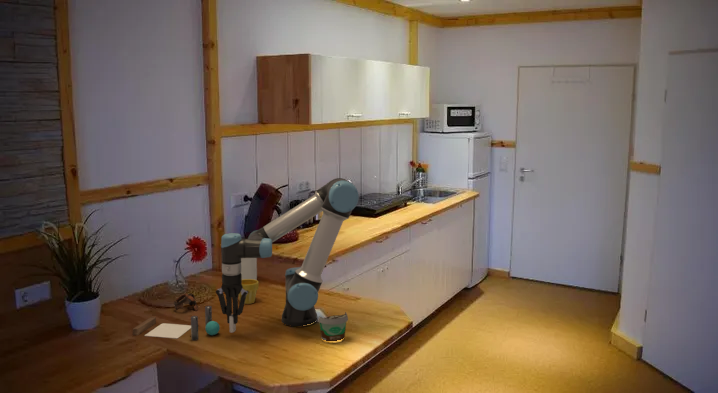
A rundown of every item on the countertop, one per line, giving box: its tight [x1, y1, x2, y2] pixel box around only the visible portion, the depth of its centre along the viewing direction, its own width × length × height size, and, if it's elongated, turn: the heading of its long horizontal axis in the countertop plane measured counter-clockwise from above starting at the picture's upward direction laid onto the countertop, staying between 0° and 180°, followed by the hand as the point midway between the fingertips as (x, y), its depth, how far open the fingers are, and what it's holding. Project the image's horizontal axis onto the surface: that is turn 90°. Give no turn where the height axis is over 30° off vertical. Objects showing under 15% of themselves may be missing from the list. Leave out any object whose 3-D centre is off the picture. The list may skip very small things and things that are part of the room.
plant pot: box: [238, 279, 260, 305], centre depth 274 cm, size 10×10×10 cm
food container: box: [317, 311, 349, 341], centre depth 227 cm, size 12×6×10 cm, turn 117°
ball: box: [204, 320, 220, 336], centre depth 232 cm, size 6×6×6 cm
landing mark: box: [144, 322, 191, 339], centre depth 236 cm, size 14×14×1 cm
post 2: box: [204, 305, 213, 326], centre depth 239 cm, size 3×3×9 cm
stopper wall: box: [132, 316, 157, 336], centre depth 238 cm, size 2×14×2 cm, turn 170°
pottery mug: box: [173, 293, 199, 312], centre depth 263 cm, size 12×10×8 cm
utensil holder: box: [241, 258, 258, 281], centre depth 305 cm, size 15×15×18 cm
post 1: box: [190, 315, 199, 341], centre depth 227 cm, size 3×3×9 cm
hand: (232, 331), depth 231 cm, fingers closed
